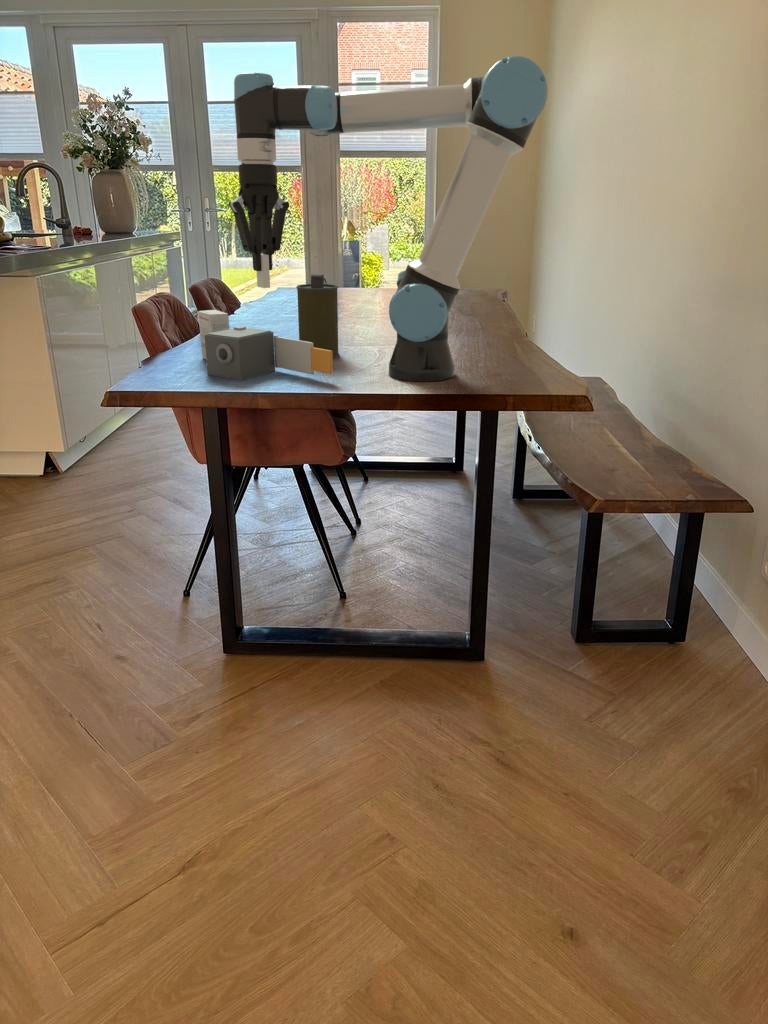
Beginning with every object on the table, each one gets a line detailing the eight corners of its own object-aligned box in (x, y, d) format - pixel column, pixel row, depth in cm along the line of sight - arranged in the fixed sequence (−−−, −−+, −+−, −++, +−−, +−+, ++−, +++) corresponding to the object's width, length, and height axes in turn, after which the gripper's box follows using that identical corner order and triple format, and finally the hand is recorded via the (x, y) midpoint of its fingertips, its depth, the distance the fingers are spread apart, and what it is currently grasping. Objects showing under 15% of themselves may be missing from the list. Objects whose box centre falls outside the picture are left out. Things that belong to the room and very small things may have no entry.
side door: (277, 366, 179) (276, 335, 177) (333, 378, 168) (332, 345, 165) (274, 367, 179) (272, 336, 176) (330, 379, 167) (329, 346, 165)
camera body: (275, 370, 179) (273, 328, 176) (238, 380, 169) (235, 336, 166) (242, 365, 184) (240, 324, 180) (204, 375, 174) (201, 331, 170)
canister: (338, 360, 192) (337, 277, 184) (296, 359, 192) (293, 276, 184) (340, 351, 202) (339, 272, 194) (300, 351, 202) (298, 272, 194)
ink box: (233, 362, 188) (230, 313, 184) (214, 364, 186) (210, 314, 181) (219, 356, 195) (216, 309, 190) (201, 358, 192) (196, 310, 188)
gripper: (237, 161, 144) (244, 291, 153) (295, 163, 152) (299, 286, 161) (218, 162, 149) (227, 287, 158) (276, 164, 157) (281, 283, 166)
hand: (263, 287), depth 160 cm, fingers closed
